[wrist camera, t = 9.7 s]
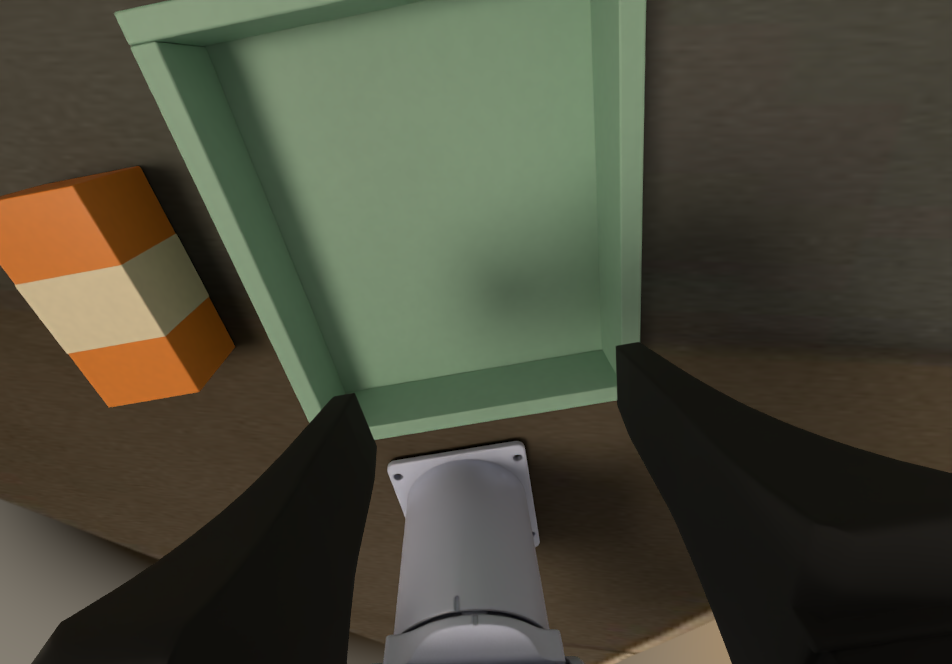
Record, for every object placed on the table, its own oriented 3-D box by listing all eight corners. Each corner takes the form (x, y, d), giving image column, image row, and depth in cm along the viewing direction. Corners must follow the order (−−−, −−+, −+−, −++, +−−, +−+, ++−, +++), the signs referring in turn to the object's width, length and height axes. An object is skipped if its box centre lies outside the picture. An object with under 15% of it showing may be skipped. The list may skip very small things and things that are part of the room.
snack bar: (236, 346, 22) (200, 392, 18) (157, 360, 22) (107, 408, 19) (140, 164, 17) (72, 185, 14) (43, 184, 18) (-46, 208, 14)
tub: (614, 353, 23) (639, 397, 20) (338, 399, 24) (321, 449, 20) (606, -65, 15) (648, -103, 11) (181, 24, 15) (111, 11, 12)
